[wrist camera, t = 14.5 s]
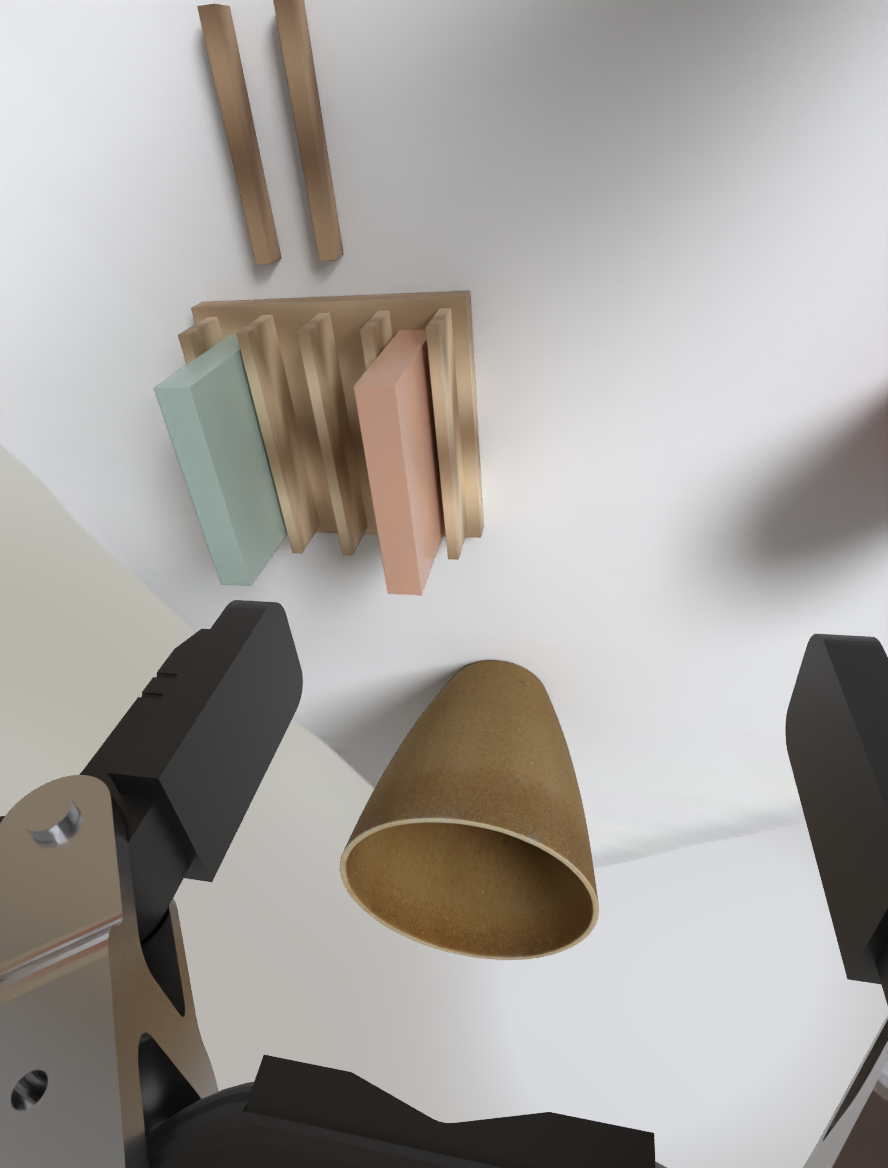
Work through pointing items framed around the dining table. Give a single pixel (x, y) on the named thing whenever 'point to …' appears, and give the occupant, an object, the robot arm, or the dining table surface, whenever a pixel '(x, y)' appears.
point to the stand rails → (244, 137)
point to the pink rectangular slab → (402, 460)
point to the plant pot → (479, 826)
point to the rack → (348, 401)
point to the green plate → (224, 461)
